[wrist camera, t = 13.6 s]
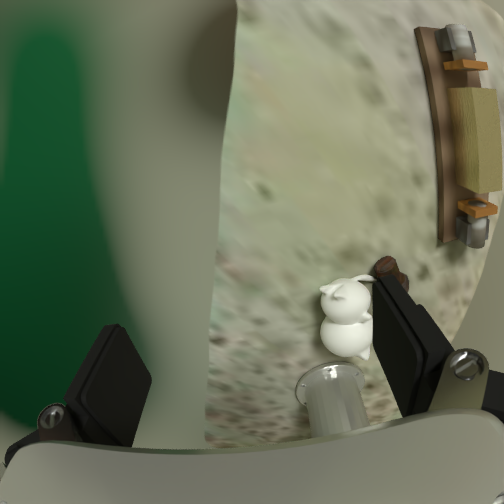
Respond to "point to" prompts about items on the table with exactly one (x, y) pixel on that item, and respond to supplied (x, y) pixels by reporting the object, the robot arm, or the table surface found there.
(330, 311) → the cat figurine
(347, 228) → the table surface
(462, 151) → the tan rectangular block
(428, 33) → the shaft base
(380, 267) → the bolt
